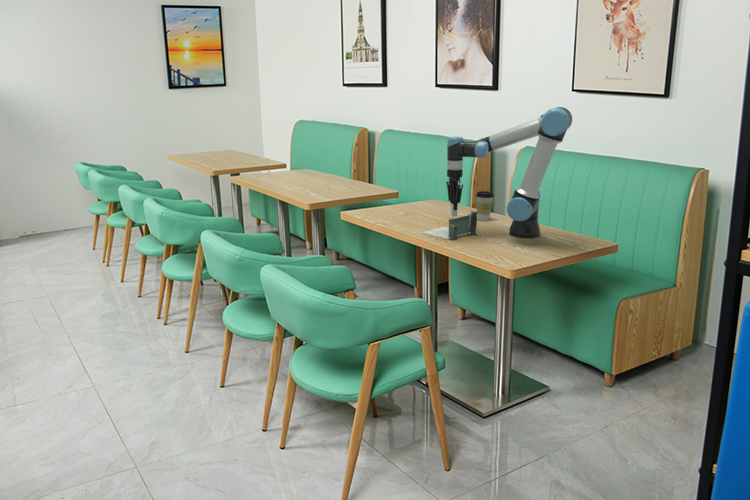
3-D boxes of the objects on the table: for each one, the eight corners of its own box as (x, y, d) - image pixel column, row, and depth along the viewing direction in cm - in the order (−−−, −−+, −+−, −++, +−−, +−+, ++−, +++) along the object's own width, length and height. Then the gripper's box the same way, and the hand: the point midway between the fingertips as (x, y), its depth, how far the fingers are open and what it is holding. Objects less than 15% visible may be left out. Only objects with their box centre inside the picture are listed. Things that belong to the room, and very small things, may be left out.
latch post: (456, 239, 301) (457, 224, 299) (453, 240, 299) (454, 225, 297) (454, 238, 302) (454, 223, 300) (450, 239, 300) (451, 224, 298)
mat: (469, 233, 311) (469, 232, 311) (447, 239, 300) (447, 238, 300) (442, 227, 323) (442, 226, 323) (421, 233, 312) (421, 232, 312)
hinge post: (476, 234, 310) (478, 211, 306) (473, 235, 308) (474, 212, 305) (472, 233, 311) (473, 211, 308) (469, 234, 310) (470, 211, 307)
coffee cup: (492, 222, 336) (494, 194, 332) (474, 221, 338) (475, 193, 334) (492, 218, 346) (494, 191, 341) (474, 217, 347) (476, 190, 343)
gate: (468, 231, 313) (469, 212, 310) (471, 231, 311) (472, 212, 309) (447, 236, 302) (448, 217, 299) (450, 237, 300) (451, 217, 297)
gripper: (441, 167, 307) (441, 214, 314) (454, 171, 296) (453, 219, 302) (454, 166, 310) (454, 213, 316) (468, 169, 298) (467, 217, 305)
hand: (454, 216), depth 309 cm, fingers closed
